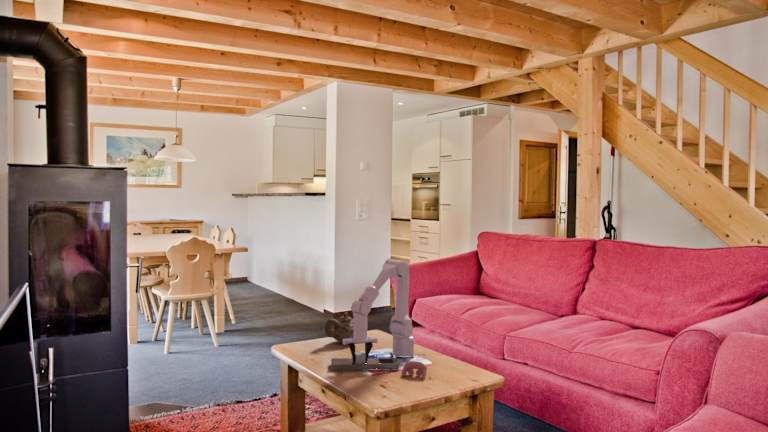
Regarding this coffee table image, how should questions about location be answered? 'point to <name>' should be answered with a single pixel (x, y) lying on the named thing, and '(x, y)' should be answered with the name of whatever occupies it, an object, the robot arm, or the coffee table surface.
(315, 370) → the coffee table surface
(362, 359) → the peg
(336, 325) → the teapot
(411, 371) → the video game controller
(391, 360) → the rail
